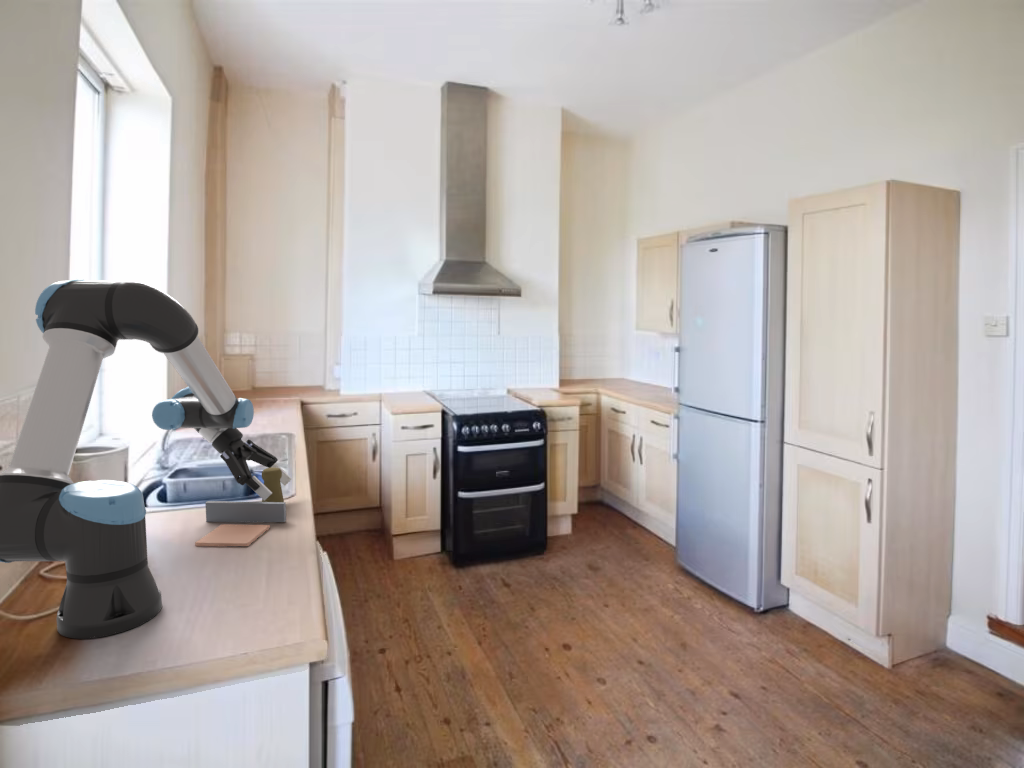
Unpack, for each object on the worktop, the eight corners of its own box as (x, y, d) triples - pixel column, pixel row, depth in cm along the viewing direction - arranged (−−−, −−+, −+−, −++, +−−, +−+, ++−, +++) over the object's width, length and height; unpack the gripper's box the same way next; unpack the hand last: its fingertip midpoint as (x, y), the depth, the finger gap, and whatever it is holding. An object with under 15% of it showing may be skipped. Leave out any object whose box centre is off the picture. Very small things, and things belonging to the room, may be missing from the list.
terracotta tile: (247, 546, 135) (247, 543, 135) (195, 545, 136) (195, 542, 136) (269, 528, 147) (269, 525, 147) (221, 527, 148) (221, 524, 147)
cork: (288, 504, 166) (287, 465, 165) (278, 511, 160) (276, 471, 159) (268, 503, 167) (266, 465, 165) (256, 510, 161) (255, 470, 159)
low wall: (284, 522, 151) (283, 503, 151) (206, 521, 152) (205, 502, 151) (286, 521, 152) (285, 502, 152) (208, 520, 153) (207, 501, 152)
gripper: (234, 434, 174) (287, 485, 176) (187, 454, 149) (248, 513, 151) (252, 417, 174) (304, 468, 175) (207, 434, 149) (268, 493, 150)
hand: (279, 489), depth 163 cm, fingers open, 13 cm apart
